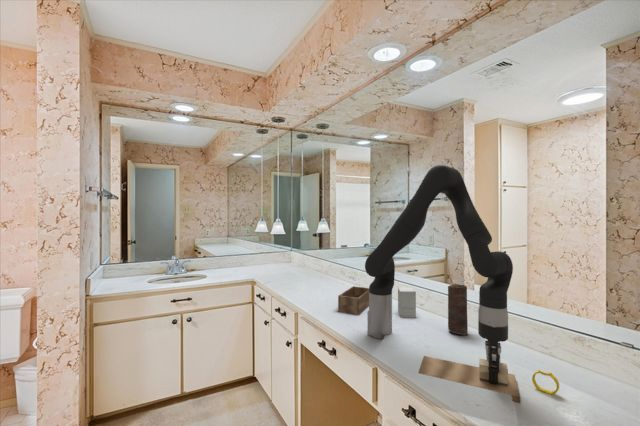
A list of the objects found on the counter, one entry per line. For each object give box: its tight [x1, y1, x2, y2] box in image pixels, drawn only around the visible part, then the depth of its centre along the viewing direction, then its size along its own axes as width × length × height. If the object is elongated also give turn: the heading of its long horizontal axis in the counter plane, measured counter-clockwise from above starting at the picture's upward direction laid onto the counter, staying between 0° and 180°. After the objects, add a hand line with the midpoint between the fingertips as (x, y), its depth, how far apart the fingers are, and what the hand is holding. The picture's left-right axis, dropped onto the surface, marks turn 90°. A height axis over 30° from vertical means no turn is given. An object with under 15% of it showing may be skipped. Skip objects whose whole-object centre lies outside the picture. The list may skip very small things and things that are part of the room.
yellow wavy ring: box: [531, 367, 560, 395], centre depth 85 cm, size 6×3×6 cm, turn 42°
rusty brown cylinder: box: [447, 283, 469, 336], centre depth 125 cm, size 8×7×20 cm
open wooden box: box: [337, 285, 369, 316], centre depth 158 cm, size 11×21×8 cm, turn 153°
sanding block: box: [478, 357, 509, 386], centre depth 88 cm, size 7×4×4 cm, turn 63°
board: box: [418, 355, 521, 403], centre depth 91 cm, size 26×12×2 cm, turn 63°
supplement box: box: [397, 286, 417, 319], centre depth 146 cm, size 7×7×13 cm
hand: (492, 379), depth 88 cm, fingers closed on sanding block, 4 cm apart
